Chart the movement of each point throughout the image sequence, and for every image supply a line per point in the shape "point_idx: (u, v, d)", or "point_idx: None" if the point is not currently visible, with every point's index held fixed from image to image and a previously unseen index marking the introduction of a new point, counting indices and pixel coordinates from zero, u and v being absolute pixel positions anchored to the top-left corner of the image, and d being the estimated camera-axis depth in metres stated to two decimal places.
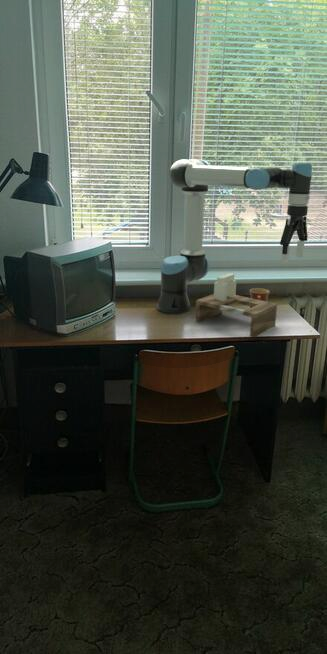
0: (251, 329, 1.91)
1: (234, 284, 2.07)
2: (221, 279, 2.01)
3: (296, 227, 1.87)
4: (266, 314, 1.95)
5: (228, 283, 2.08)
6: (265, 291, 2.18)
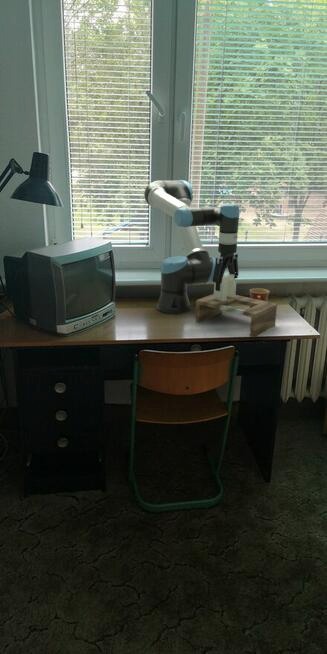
0: (251, 329, 1.91)
1: (234, 284, 2.07)
2: None
3: (226, 264, 2.00)
4: (266, 314, 1.95)
5: (228, 283, 2.08)
6: (265, 291, 2.18)
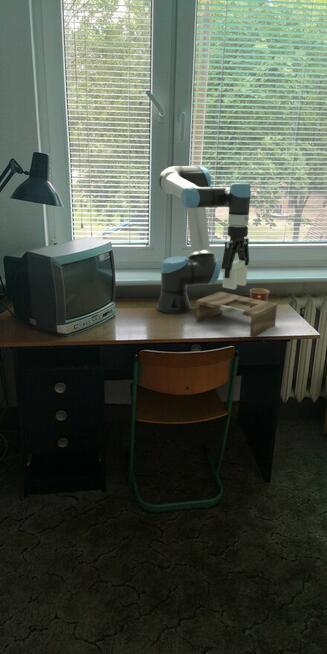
0: (251, 329, 1.91)
1: (245, 271, 1.90)
2: None
3: (236, 249, 1.83)
4: (266, 314, 1.95)
5: (238, 270, 1.91)
6: (265, 291, 2.18)
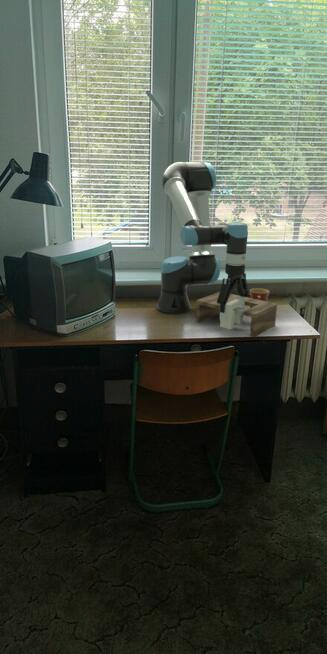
0: (251, 329, 1.91)
1: None
2: (228, 306, 1.90)
3: (233, 286, 1.88)
4: (266, 314, 1.95)
5: None
6: (265, 291, 2.18)
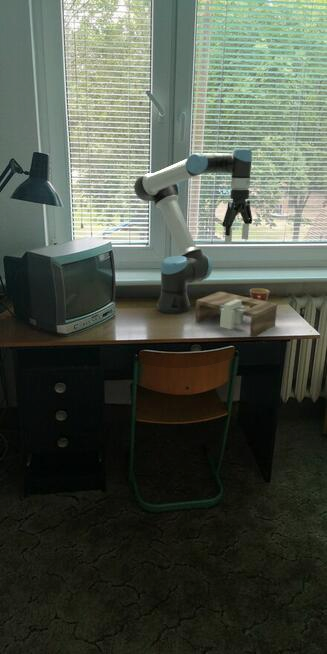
0: (251, 329, 1.91)
1: None
2: (228, 306, 1.90)
3: (238, 210, 1.97)
4: (266, 314, 1.95)
5: None
6: (265, 291, 2.18)
